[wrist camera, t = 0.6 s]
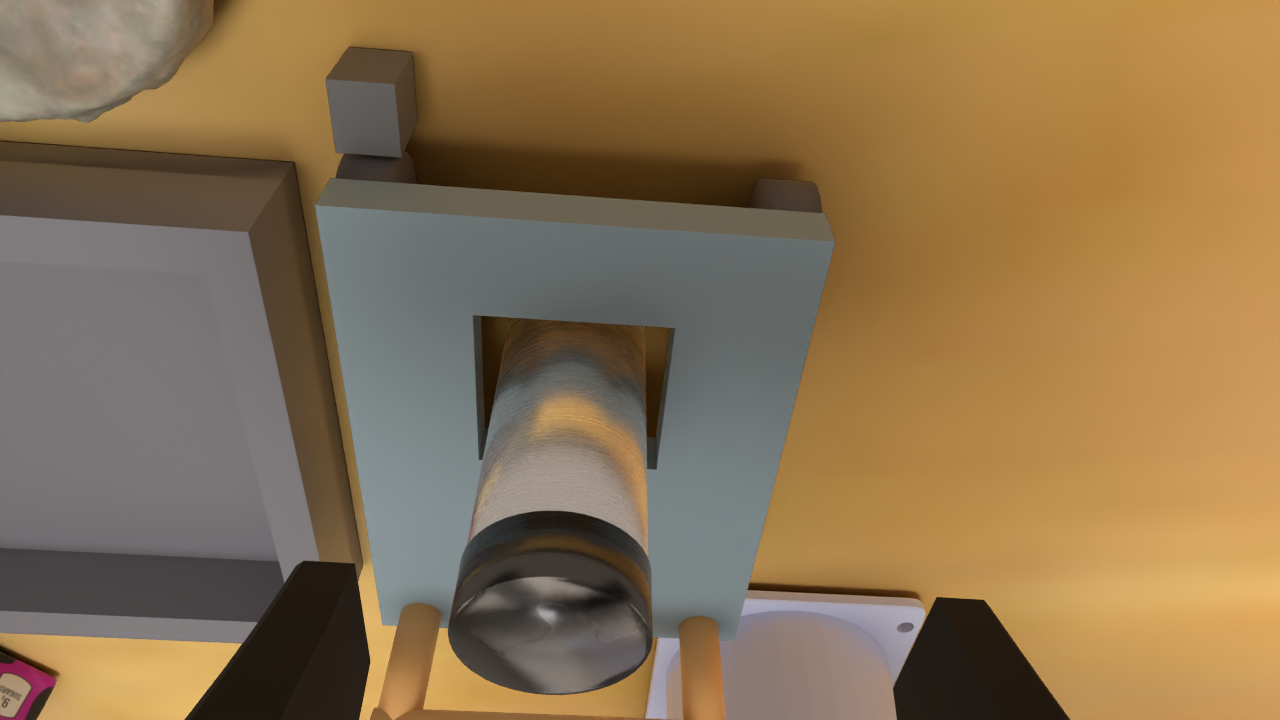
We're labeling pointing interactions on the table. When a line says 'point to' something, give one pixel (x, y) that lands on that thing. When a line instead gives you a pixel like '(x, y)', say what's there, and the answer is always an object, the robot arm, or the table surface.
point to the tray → (160, 395)
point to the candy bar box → (22, 689)
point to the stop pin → (560, 515)
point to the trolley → (564, 291)
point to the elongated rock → (91, 53)
